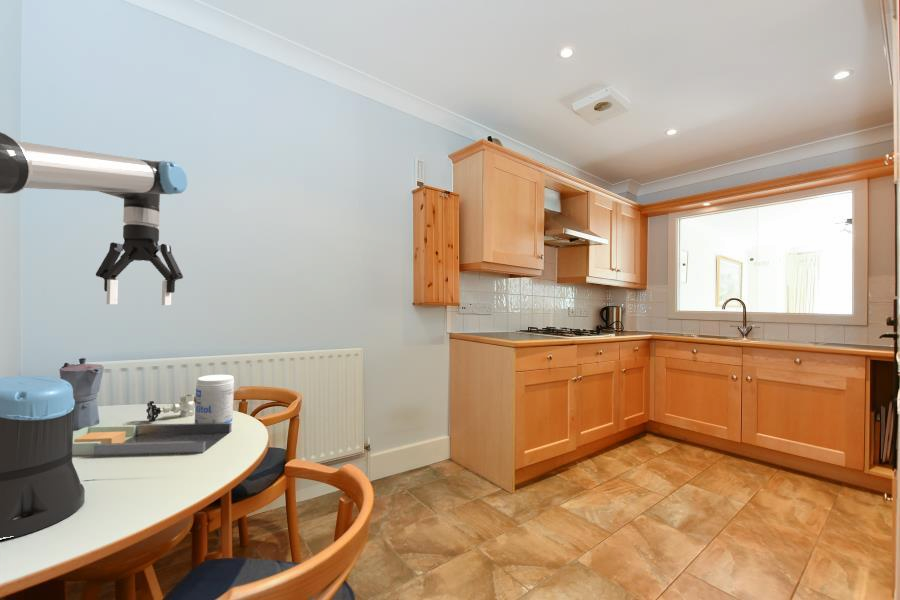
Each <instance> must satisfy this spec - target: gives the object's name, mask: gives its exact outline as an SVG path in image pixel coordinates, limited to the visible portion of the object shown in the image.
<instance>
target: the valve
mask: <svg viewBox="0 0 900 600" xmlns="http://www.w3.org/2000/svg"><path fill="white" fill-rule="evenodd" d="M146 407H147V409H145V410H146V413H147V415H146V420H148V422H149V423H153V422H156V421H157V420H156V419H157V418H158V417H159V415H161V413H162V412H163V414H166V413H169V412H170V411H171V412H173V413H174V414H175V413H179V412H180V415H179V416H180V418H189V417H188V416H190V417H193V416H195V394H193V393H190V394H182V395H181V396H180V403H179V402H174V403H172V405H171V406H169V405H166V406H163V407H162V408H161V407H158V406H157V405H156V404H155V401H154V400H152V401H149V402H147V404H146Z"/></svg>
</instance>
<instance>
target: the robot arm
mask: <svg viewBox="0 0 900 600" xmlns="http://www.w3.org/2000/svg"><path fill="white" fill-rule="evenodd" d="M187 177H188V176H187V173H186V171H185V170H184V168H183V167H182V166H181V165H180V164H179V163H177V162H175V161H165V160H161V161H157V160H153V161H152V160H146V159H138V158H134V157H127V156H119V155H115V154H114V155H113V154H107V153H99V152H94V151H93V152H92V151H86V150H80V149H72V148H66V147H60V146H59V147H58V146H52V145H45V144H39V143H32V142H25V141H20V140H19V141H17V140H16V139H15V138H14V137H12V136H10V135H9V134H7V133H5V132H0V194H10V195H11V194H16V193H20V192H22V191H23V190H24V189H38V190H39V189H40V190H64V191H85V192H86V191H89V192H99V193H102V194H106V195H109V196H113V197H117V198H120V199H123V216H122V217H123V220H122V221H123V223H124V225H123V226H122V228H123V229H122V230H123V231H122V238H123V241H124V242H123V243H122V244H121V243H119V242H111V243H110V244H109V250H108V252H107V253H106V256H105V257H104V259H103V260H102V262H101V264H100V266H99V267H98V269H97V271H96V272H95V276H96V277H97V278H101V279H103V280H104V281H103V283H104V284H103V289H104V292H106V305H118V304H119V303H118V299H119V279H117V277H119V275H120V274H121V273H122V272H123V271H124V270H125V269H126V268H127V267H128V266H129V264H131V263H133V262H134V261H136V262H137V261H145V262H150V263H151V264H152V265H153V266H154V268H155V269H156V270H157V271H158V272H159V273H160V275H162V276H163V278H164V280H162V284H161V285H162V286H161V287H162V289H161V293H162V294H161V306H172V294H174V293H175V287H176V281H178V280H182V279H184V275H183V274H182V272H181V269H180V267H179V266H178V264H177V261H176V260H175V257H174V255H173V253H172V247H171V245H169V244H165V243H162V244H160V245H159V240H160V229H159V228H158V227H159V226H160V202H161V201H160V199H161V195H174V194H175V195H177V194H182V193H184V192H185V191H186V189H187V187H188V178H187ZM123 251H124V253H122V252H123ZM158 252H160V253H161V256H162V258H163V260H164V261H165V263H166V265H165V264H164V263H163V261H162V259H161V258H160V257H159V255H158V254H157V253H158ZM74 404H75V400H74V399H73V388H72V385H71V384H70V383H69V382H67V381H65V380H63V379H61V378H58V377H55V376H54V377H53V376H44V375H31V376H28V375H17V376H16V375H14V376H5V377H0V538H3V537H10V536H17V537H21V536H23V535H28V534H31V533H33V532H36V531H39V530H43V529H45V528H47V527H49V526H51V525H52V526H53V525H54V524H56V523H58V522H61V521H63V520H65V519H66V518H68V517H70V516H72V515H73V514H75V513H77V511H79V510H80V509H81V508H82V507H83V506H84V504H85V500H86V499H85V495H86V494H85V493H86V492H85V491H86V490H85V489H86V488H85V487H84V485H83V484H82V483H81V480H80V478H79V475H78V473H77V470H76V468H75V465H74V464H73V455H72V447H73V432H74V431H73V424H74V406H75V405H74Z"/></svg>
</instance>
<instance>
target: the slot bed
mask: <svg viewBox="0 0 900 600" xmlns="http://www.w3.org/2000/svg"><path fill="white" fill-rule="evenodd" d="M232 424H233V422H232V423H195V422H193V423H162V424H161V423H156V424H155V423H151V424H149V423H148V424H138V425H136V435H135V436H133V437H131V438H129V439H127V440H125V442H123V443H107V444H96V445H94V455H92V457H93V458H99V457H101V458H105V457H109V458H110V457H132V456H135V457H136V456H137V457H138V456H165V455H167V456H168V455H169V456H171V455H172V456H173V455H197V454H198V455H200V454H204V453H205V452H206V451H208V450H209V449H210V448H212V447H214V445H215V444H217V443H218V442H220V441H221V440H223V439H224V438H225V437H226V436H227V435H229V434H230V433H231V432H232Z"/></svg>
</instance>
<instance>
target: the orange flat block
mask: <svg viewBox="0 0 900 600" xmlns="http://www.w3.org/2000/svg"><path fill="white" fill-rule="evenodd" d="M125 438H126V431H124V432H107V433H105V434H103V435H101V436H99V437H96V438H94V439H93V442H101V444H107V443H123V442H125Z"/></svg>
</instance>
